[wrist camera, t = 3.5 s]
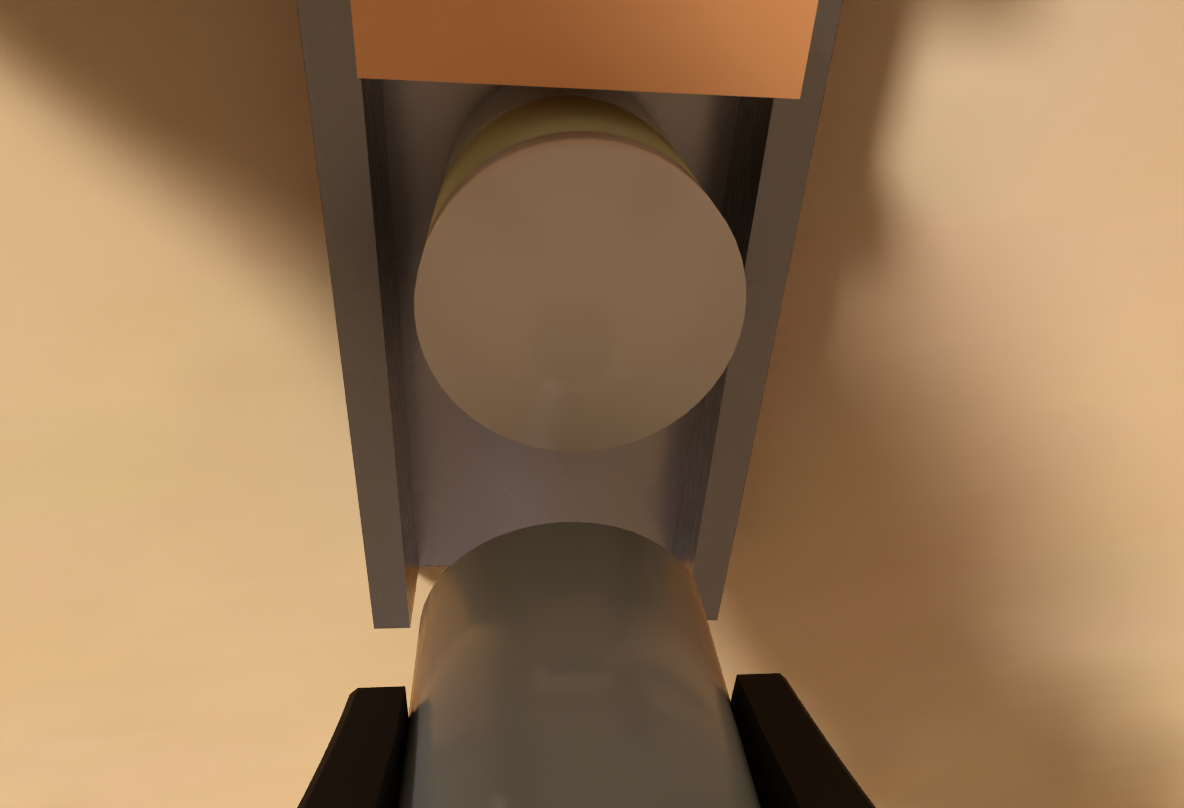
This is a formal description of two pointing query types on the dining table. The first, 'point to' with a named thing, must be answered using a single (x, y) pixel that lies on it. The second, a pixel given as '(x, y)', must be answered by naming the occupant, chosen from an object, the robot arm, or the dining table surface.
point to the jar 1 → (575, 273)
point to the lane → (439, 426)
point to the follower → (590, 44)
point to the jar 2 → (570, 681)
